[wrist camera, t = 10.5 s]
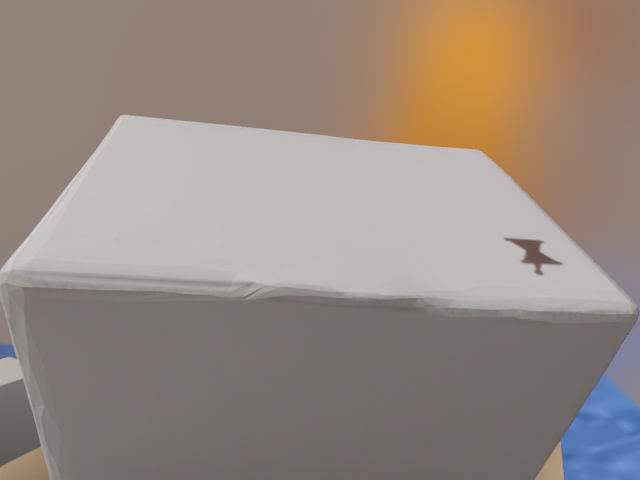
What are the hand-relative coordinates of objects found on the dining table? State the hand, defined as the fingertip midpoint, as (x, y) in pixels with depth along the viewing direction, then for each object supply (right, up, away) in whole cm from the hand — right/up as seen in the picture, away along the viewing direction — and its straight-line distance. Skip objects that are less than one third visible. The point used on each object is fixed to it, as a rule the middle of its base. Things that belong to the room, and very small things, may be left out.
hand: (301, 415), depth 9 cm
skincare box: (-1, -6, +3) cm, 7 cm away
